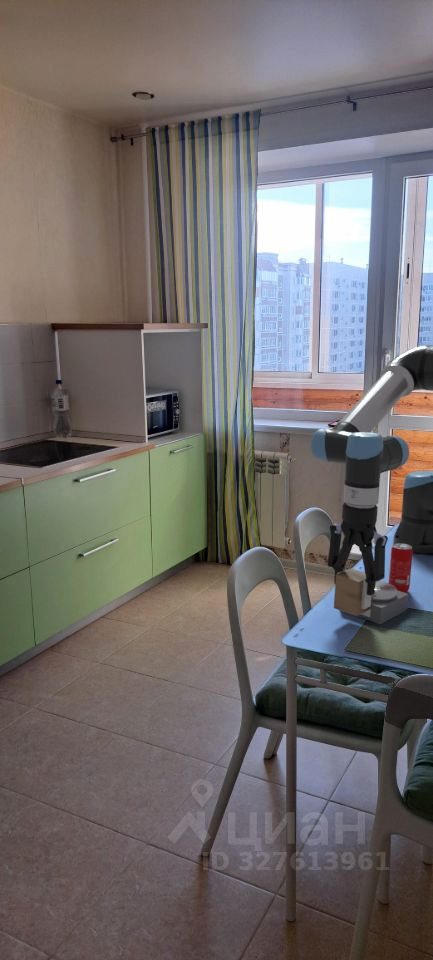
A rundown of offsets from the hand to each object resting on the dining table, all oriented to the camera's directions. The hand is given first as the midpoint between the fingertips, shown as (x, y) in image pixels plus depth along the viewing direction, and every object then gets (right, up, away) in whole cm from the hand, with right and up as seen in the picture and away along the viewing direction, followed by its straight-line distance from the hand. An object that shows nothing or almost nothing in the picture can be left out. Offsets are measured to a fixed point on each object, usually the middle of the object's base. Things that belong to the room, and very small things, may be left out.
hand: (352, 602), depth 158 cm
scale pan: (+7, +1, +8) cm, 10 cm away
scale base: (+7, -3, +9) cm, 11 cm away
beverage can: (+16, -1, +20) cm, 26 cm away
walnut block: (0, -1, 0) cm, 1 cm away
